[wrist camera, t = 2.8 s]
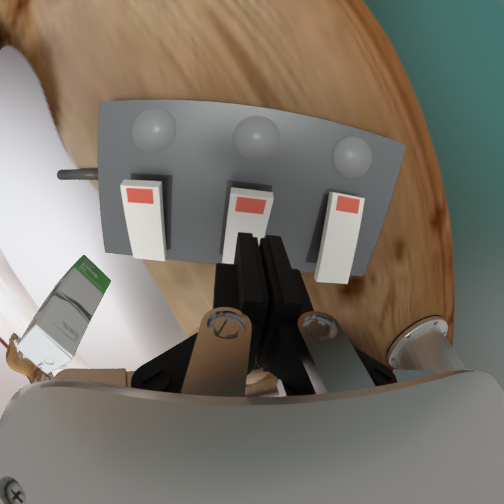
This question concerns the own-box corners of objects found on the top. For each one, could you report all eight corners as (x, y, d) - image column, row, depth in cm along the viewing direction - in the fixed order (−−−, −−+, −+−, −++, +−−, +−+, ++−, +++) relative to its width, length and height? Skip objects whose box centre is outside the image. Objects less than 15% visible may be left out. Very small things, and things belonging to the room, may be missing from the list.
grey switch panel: (353, 260, 29) (363, 276, 27) (67, 233, 25) (54, 246, 23) (389, 139, 22) (406, 144, 20) (59, 107, 18) (41, 110, 16)
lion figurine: (61, 351, 36) (44, 391, 28) (68, 368, 39) (54, 405, 31) (6, 329, 34) (-13, 361, 26) (15, 346, 36) (-1, 377, 29)
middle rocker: (255, 263, 25) (255, 270, 24) (222, 260, 24) (221, 267, 24) (272, 192, 19) (273, 199, 19) (231, 187, 19) (230, 194, 18)
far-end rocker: (344, 280, 24) (348, 284, 23) (313, 278, 23) (317, 282, 22) (360, 197, 22) (365, 198, 21) (329, 191, 21) (333, 192, 20)
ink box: (84, 251, 27) (34, 323, 17) (113, 281, 29) (75, 358, 19) (55, 284, 29) (14, 348, 19) (80, 309, 31) (47, 376, 21)
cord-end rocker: (167, 254, 24) (164, 262, 23) (135, 251, 23) (133, 258, 23) (161, 181, 18) (158, 188, 18) (123, 179, 18) (119, 186, 17)
